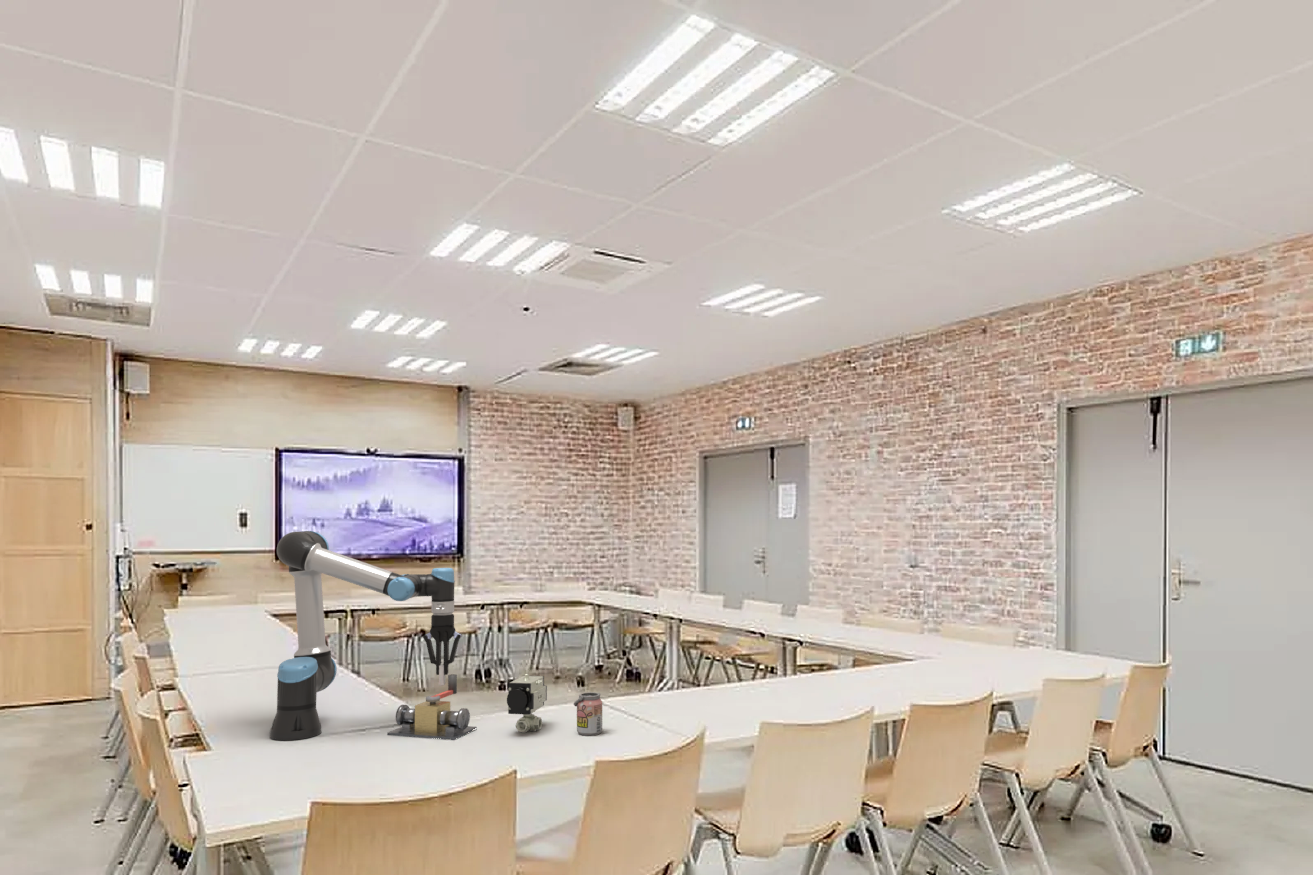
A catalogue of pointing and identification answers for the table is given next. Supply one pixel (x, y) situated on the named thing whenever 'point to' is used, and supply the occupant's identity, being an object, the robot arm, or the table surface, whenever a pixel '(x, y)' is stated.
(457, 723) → the valve assembly
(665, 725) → the table surface
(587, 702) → the beverage can
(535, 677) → the ball valve
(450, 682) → the lever
